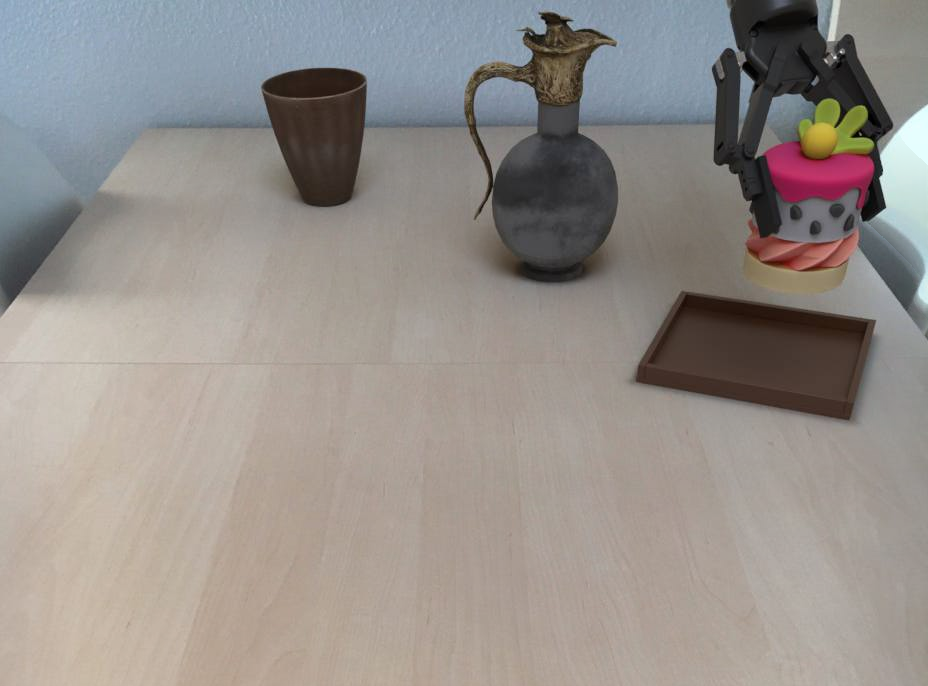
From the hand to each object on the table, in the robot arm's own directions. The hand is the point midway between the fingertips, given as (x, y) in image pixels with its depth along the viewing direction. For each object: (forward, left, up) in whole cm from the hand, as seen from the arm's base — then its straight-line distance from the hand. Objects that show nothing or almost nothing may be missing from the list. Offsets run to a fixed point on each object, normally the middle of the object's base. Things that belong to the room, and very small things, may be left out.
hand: (823, 223), depth 96 cm
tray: (+4, -8, -19) cm, 21 cm away
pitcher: (+35, -22, -19) cm, 46 cm away
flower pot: (+74, -36, -19) cm, 85 cm away
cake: (+2, -2, -6) cm, 7 cm away
